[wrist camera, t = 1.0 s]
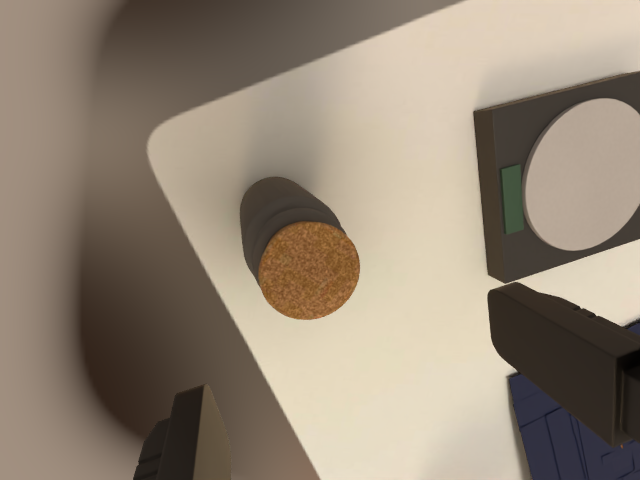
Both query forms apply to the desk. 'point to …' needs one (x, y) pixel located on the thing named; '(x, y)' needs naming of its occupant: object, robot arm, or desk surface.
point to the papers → (567, 440)
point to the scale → (559, 175)
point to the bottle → (297, 249)
